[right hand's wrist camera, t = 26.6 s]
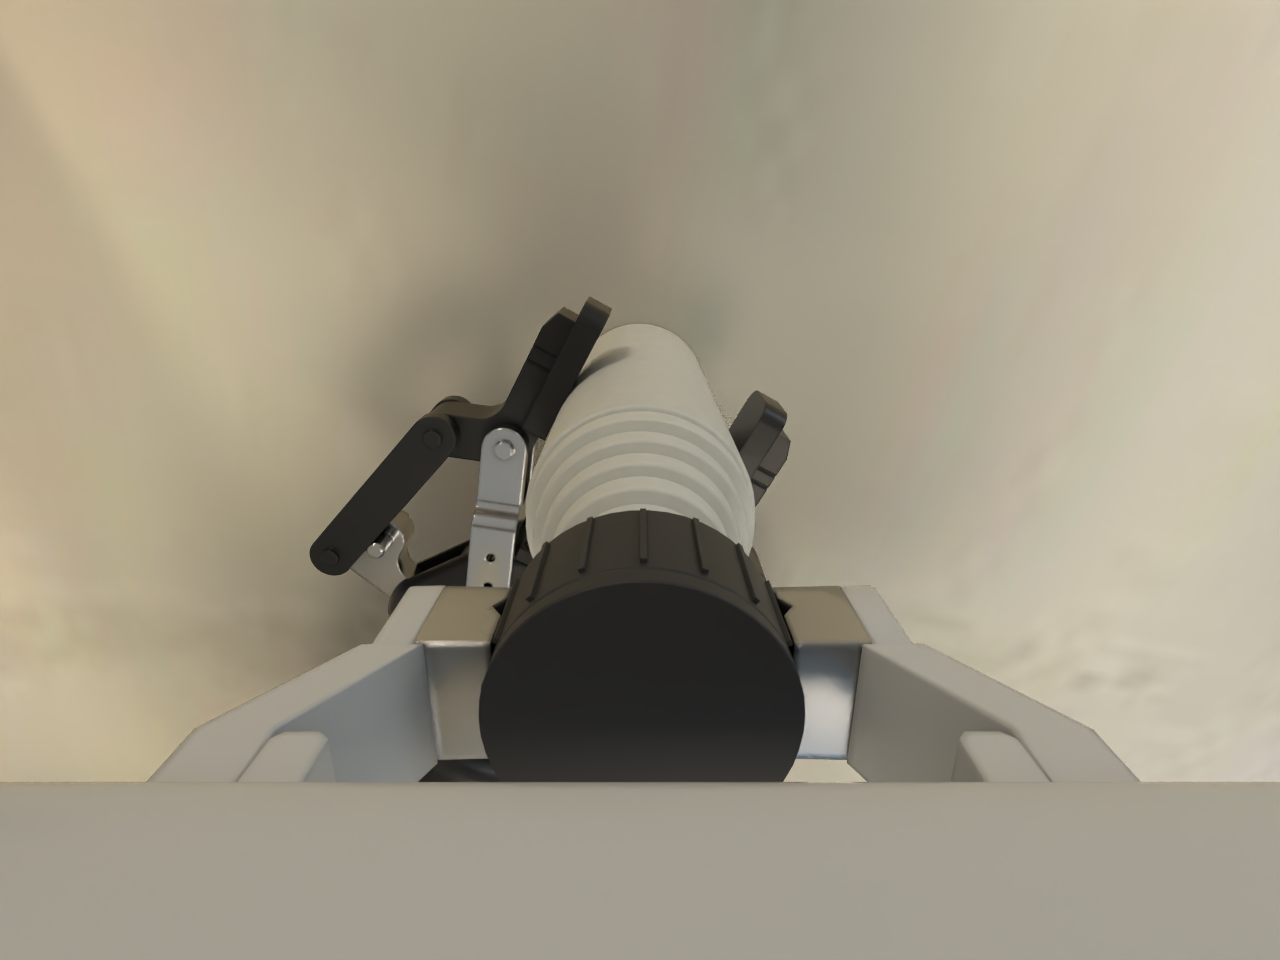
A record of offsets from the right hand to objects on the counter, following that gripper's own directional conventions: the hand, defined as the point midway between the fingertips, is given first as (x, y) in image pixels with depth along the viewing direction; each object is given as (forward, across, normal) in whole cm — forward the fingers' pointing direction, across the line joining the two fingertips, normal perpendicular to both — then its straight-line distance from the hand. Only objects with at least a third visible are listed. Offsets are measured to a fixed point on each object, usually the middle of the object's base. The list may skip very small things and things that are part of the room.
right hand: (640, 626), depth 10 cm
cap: (-2, 0, 0) cm, 2 cm away
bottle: (+16, 0, 0) cm, 16 cm away
